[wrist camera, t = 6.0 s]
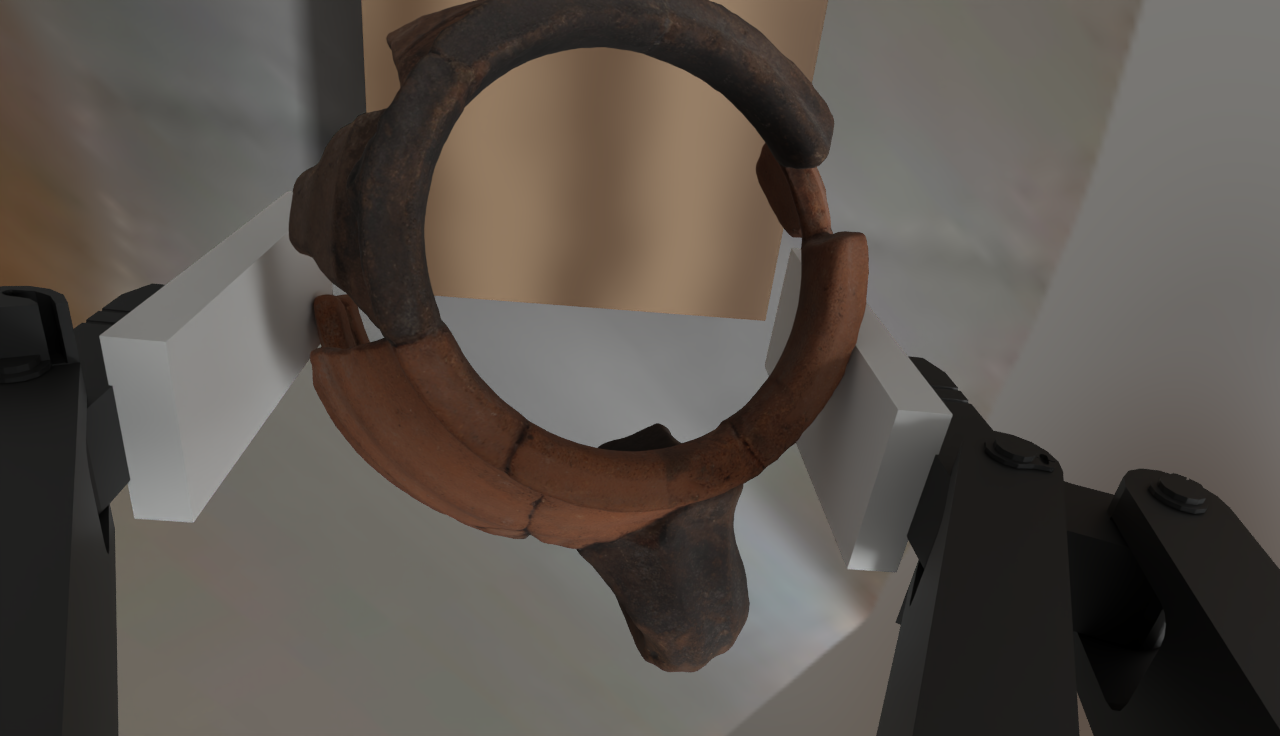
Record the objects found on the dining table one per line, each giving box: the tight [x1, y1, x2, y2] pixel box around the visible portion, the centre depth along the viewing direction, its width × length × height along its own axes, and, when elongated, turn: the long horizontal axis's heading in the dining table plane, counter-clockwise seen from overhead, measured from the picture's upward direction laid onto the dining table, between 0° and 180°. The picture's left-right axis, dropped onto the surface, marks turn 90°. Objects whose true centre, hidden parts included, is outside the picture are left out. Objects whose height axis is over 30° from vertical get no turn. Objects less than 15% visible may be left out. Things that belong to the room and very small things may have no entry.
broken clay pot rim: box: [289, 0, 869, 672], centre depth 15 cm, size 12×10×8 cm
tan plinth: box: [361, 0, 828, 321], centre depth 29 cm, size 15×15×3 cm
